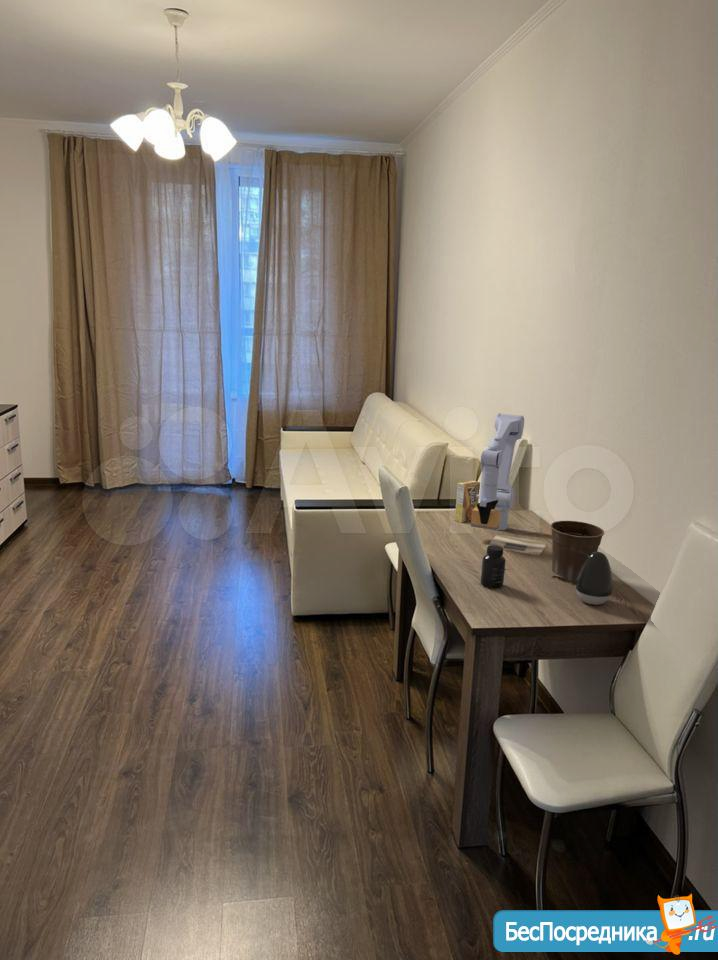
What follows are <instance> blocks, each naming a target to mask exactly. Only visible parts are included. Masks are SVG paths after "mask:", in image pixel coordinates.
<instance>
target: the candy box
mask: <svg viewBox="0 0 718 960" xmlns="http://www.w3.org/2000/svg"><path fill="white" fill-rule="evenodd" d="M480 489H481V482H479V481H477V480H467V481H461V482H458V483H457V489H456V498H455V499H456V501H455V510H454V511H455V512H454V521H455V520H456V521H455V522H458V521H460V522H459V523H461V522H463V523H466V522H465V521H467V522H470V521H469V520H471V518H472V510H473V509H474V508H475V507H477V503H479V501H480V499H479V498H478V497H476V496H477V495H478V494H479V495H480Z"/></svg>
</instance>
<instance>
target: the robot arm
mask: <svg viewBox="0 0 718 960" xmlns="http://www.w3.org/2000/svg"><path fill="white" fill-rule="evenodd" d="M494 420H495V421H494V427H495V431H496V434H495V436H492V437H491V439H490V441H489V443H488V445H487V448H486V449H484V450H483V451H482V452H481V455H480V471H481V482H480V490H479V494H478V495H477V496H476V497H478V498H479V502H478V503H477V508H478V510H479V514H480V521H481V524H487V523H488V519H489V515H490V512H491V510H492V509H495V510H501V514H500V525H499V528H498V529H497V530H496V531H505V530H507V529H509V530H510V527H509V526H508V524H509V516H510V515H509V513H510V512H509V510H510V509H513V506H514V501H515V489H514V487H513V486H512V485H511V484H510V483H509V481H510V474H511V471H512V470H511V468H512V465H513V460H514V453H515V447H516V443H517V441H518V440H521V439H522V437H523V433H524V427H525V417H524V416H523V415H515V414H507V413H501V412H499V413H498V414H496V417H495V419H494Z"/></svg>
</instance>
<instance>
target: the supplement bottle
mask: <svg viewBox="0 0 718 960" xmlns="http://www.w3.org/2000/svg"><path fill="white" fill-rule="evenodd" d="M487 546H488V545H487ZM487 546H486V554H484V556H483V557H482V561H481V563H482V564H481V574H480V584H481V586H482V585H483V586H482V587H484V586H485V587H484V588H486V587H488V588H487V589H490V588H499V589H501V588H503V587H504V583H505V582H504V581H505V580H504V579H505V573H506V572H505V570H506V558H505V557H504V550H503V548H502V547H500V546H495V545H491V546H488V547H487ZM500 587H501V588H500Z"/></svg>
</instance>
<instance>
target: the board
mask: <svg viewBox="0 0 718 960" xmlns="http://www.w3.org/2000/svg"><path fill="white" fill-rule="evenodd" d="M507 542H508V543H514V544H520V545H526V546H527V548H525V551H521V550H515V549H509V548H504V545H506V543H507ZM547 544H548V542H546V541H540V540H539V541H538V540H534V539H527V538H521V537H515V536H510V535H509V536H508V535H504V534H496V535H495V536H494V537H493V538H492V540H491V541H490V542H489V543H488V544H487V545H486V548H487V547H488V546H491V545H495V546H500V547H502V548H503V551H509V552H515V553H520V554H521V553H522V554H526V555H533V556H539V557H540V556H541V554H542V552H543V550H544V549H545V546H546V545H547Z"/></svg>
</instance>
